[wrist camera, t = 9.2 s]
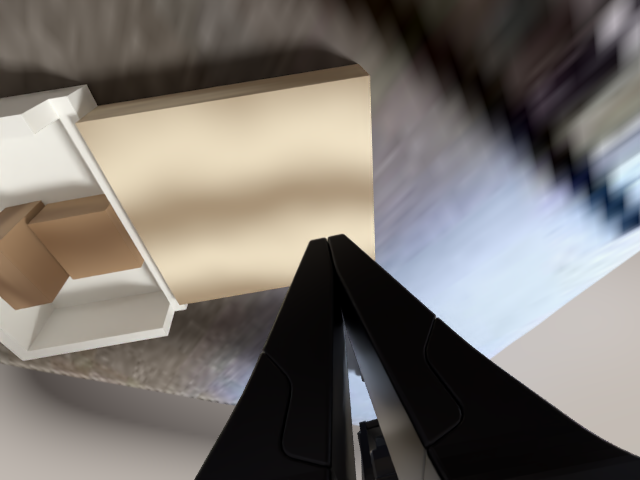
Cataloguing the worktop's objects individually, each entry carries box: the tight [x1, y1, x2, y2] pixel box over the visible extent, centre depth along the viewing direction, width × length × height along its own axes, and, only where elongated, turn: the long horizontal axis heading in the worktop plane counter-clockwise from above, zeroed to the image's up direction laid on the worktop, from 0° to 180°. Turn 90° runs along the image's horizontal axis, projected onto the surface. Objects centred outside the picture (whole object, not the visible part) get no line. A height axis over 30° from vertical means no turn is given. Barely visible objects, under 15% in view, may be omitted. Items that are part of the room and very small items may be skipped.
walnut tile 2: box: [27, 194, 144, 280], centre depth 19 cm, size 4×4×2 cm
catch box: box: [0, 84, 188, 361], centre depth 19 cm, size 14×10×4 cm
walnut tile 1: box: [0, 200, 70, 310], centre depth 18 cm, size 4×4×2 cm
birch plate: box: [75, 64, 375, 305], centre depth 20 cm, size 12×13×2 cm
